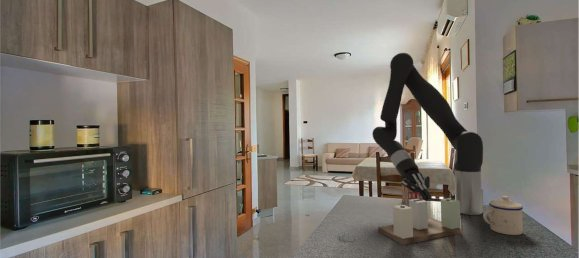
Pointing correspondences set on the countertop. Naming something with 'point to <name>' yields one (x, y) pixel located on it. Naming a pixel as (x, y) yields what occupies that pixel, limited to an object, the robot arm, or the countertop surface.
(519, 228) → the teacup with lid
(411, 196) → the stack of blocks
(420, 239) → the brown wooden board
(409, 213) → the one dot key
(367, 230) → the countertop surface
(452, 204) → the two dot key
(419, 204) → the three dot key
